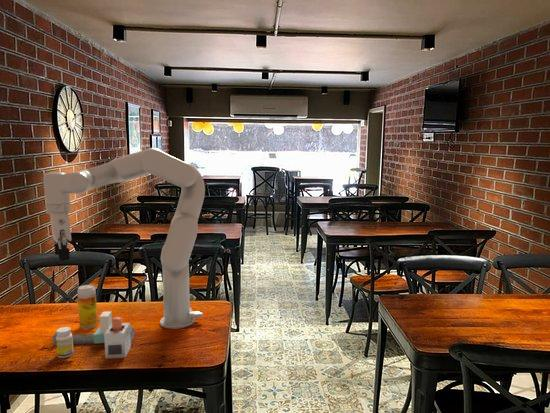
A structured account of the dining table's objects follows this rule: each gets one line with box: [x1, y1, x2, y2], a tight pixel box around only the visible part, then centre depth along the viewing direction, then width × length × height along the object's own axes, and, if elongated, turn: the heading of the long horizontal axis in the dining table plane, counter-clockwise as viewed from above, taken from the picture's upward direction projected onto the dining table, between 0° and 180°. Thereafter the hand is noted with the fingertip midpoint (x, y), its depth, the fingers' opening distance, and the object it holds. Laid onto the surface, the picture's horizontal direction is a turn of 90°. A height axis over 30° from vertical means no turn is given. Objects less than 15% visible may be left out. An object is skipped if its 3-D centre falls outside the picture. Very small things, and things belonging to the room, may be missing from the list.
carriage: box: [93, 310, 113, 344], centre depth 147 cm, size 7×6×9 cm
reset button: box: [112, 316, 123, 331], centre depth 138 cm, size 3×3×4 cm
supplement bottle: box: [55, 326, 75, 359], centre depth 138 cm, size 5×5×8 cm
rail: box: [52, 325, 135, 347], centre depth 147 cm, size 25×5×4 cm, turn 96°
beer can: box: [76, 284, 99, 330], centre depth 159 cm, size 6×6×15 cm
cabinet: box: [104, 322, 132, 359], centre depth 139 cm, size 6×8×8 cm
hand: (62, 257), depth 151 cm, fingers open, 9 cm apart
